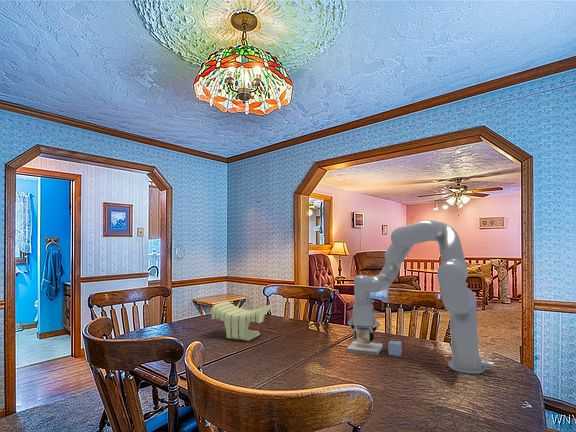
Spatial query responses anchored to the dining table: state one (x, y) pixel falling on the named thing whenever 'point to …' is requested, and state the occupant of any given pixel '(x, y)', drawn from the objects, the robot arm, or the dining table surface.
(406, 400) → the dining table surface
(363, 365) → the dining table surface
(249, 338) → the slatted curved stool
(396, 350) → the blue cube
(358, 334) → the maple cube
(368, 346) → the base board
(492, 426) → the dining table surface
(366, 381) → the dining table surface
